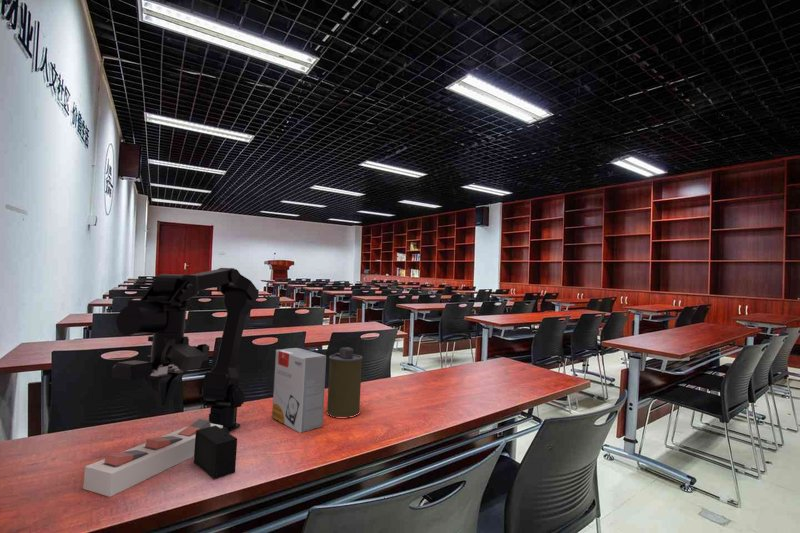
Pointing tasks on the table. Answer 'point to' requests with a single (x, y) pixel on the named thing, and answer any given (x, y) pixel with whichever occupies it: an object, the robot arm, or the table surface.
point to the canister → (344, 383)
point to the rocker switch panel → (138, 466)
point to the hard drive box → (299, 388)
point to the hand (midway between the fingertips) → (161, 405)
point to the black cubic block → (215, 451)
